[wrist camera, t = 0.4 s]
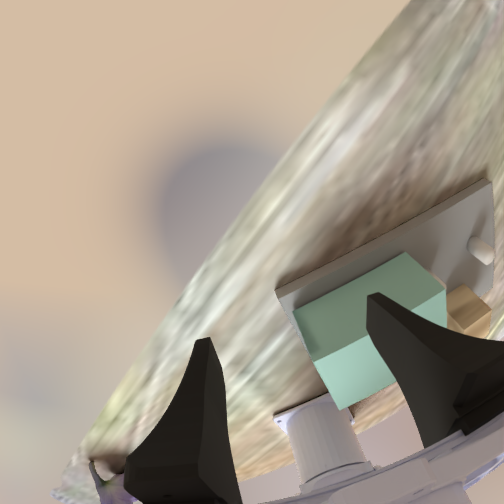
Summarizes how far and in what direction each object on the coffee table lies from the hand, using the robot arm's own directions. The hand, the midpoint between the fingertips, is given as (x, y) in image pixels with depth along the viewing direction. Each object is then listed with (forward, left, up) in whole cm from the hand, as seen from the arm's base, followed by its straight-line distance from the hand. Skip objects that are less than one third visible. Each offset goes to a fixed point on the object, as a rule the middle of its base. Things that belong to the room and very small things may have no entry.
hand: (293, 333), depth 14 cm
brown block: (-15, -14, -9) cm, 23 cm away
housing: (-9, -5, -8) cm, 13 cm away
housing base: (-11, -10, -10) cm, 18 cm away
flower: (-24, +34, -10) cm, 42 cm away
